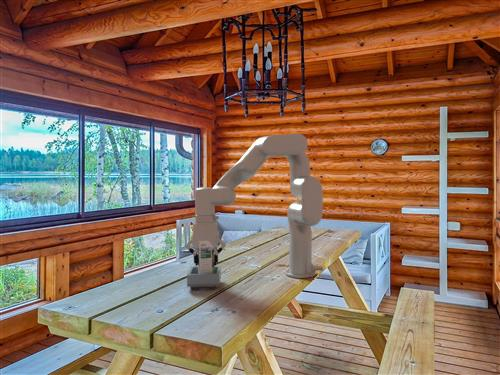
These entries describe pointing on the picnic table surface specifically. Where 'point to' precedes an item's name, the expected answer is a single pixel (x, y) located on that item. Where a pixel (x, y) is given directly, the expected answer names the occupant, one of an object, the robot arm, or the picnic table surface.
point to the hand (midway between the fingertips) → (206, 264)
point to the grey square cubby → (203, 278)
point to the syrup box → (205, 258)
